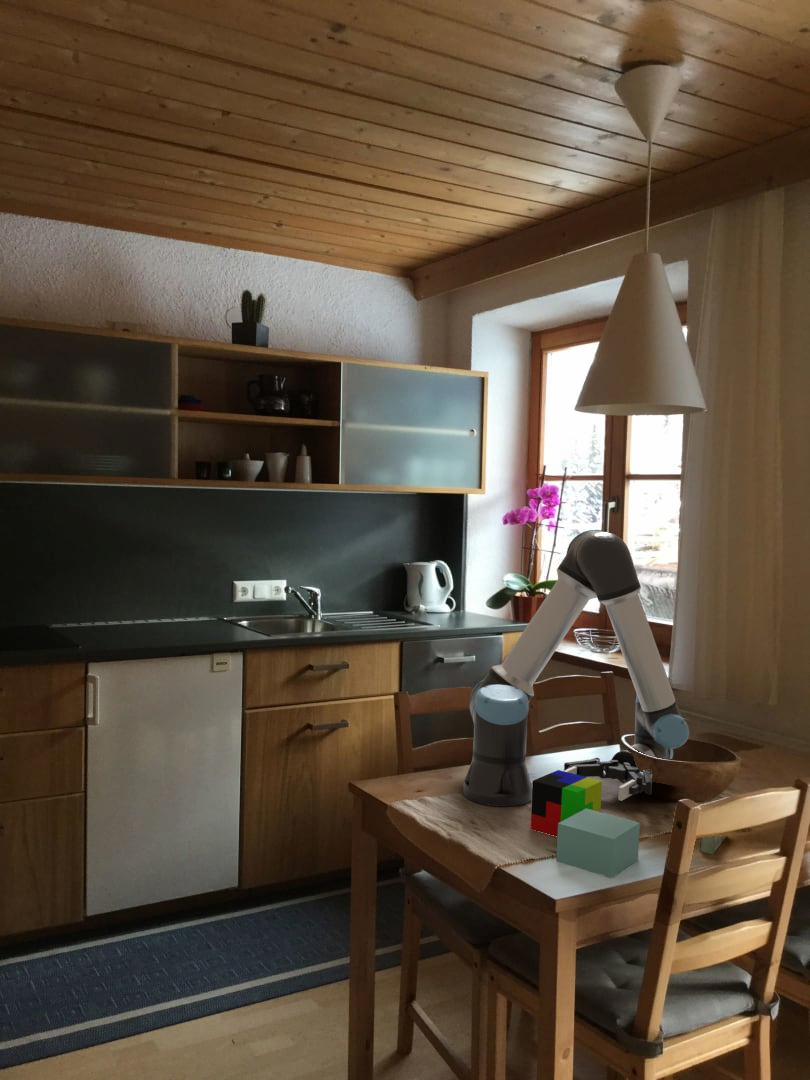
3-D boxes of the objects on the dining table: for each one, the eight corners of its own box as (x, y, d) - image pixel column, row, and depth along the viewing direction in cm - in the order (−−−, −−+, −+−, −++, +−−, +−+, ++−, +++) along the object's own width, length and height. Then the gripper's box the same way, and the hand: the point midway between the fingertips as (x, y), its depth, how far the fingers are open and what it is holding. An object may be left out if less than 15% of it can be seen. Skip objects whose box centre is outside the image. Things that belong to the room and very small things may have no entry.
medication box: (713, 855, 177) (715, 835, 177) (699, 852, 178) (700, 831, 178) (727, 836, 187) (729, 817, 187) (713, 833, 189) (715, 813, 188)
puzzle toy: (556, 817, 194) (558, 769, 194) (599, 829, 188) (601, 780, 187) (530, 829, 187) (532, 780, 186) (574, 843, 180) (577, 792, 180)
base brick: (556, 860, 171) (558, 823, 171) (584, 844, 180) (585, 808, 179) (611, 878, 164) (613, 839, 164) (638, 859, 173) (640, 822, 173)
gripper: (685, 792, 204) (645, 818, 187) (582, 769, 219) (536, 791, 202) (687, 758, 203) (647, 781, 187) (583, 737, 219) (537, 756, 202)
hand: (589, 786), depth 195 cm, fingers open, 13 cm apart
